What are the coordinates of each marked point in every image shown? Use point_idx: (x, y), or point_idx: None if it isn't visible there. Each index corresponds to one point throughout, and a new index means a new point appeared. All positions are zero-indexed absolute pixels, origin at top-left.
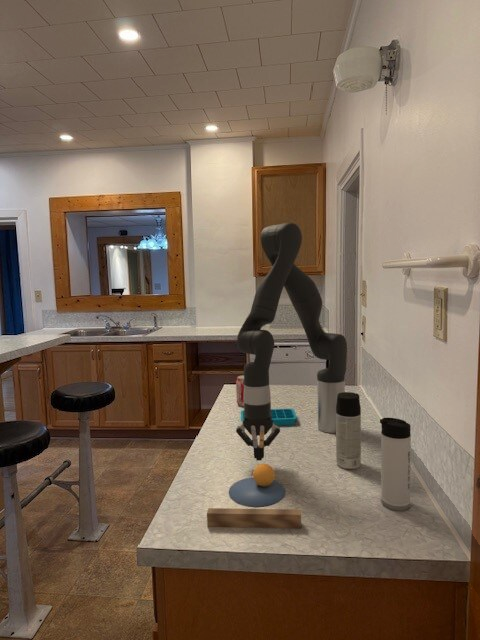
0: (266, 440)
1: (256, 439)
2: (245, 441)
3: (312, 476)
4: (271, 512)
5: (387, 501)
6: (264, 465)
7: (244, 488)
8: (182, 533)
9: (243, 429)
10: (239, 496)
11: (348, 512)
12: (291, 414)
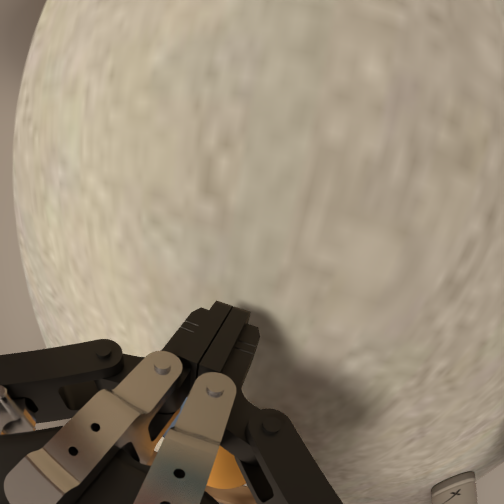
0: (244, 451)
1: (148, 458)
2: (84, 394)
3: (414, 429)
4: (221, 501)
5: (432, 497)
6: (213, 487)
7: (175, 418)
8: None
9: (18, 431)
10: (167, 431)
11: (370, 495)
12: None
